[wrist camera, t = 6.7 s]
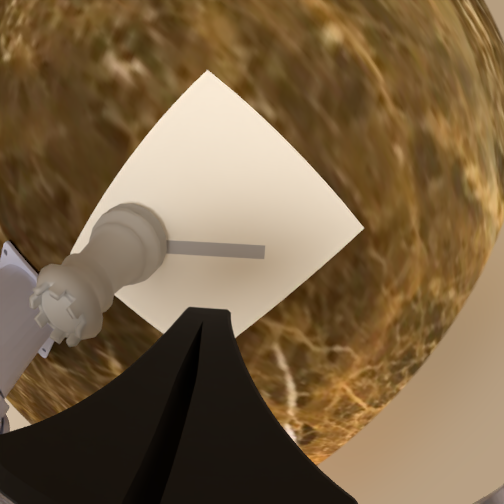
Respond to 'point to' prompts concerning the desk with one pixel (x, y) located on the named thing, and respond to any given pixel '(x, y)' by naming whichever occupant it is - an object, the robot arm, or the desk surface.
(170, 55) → the desk surface
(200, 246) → the paper
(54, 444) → the robot arm
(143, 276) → the rook chess piece
